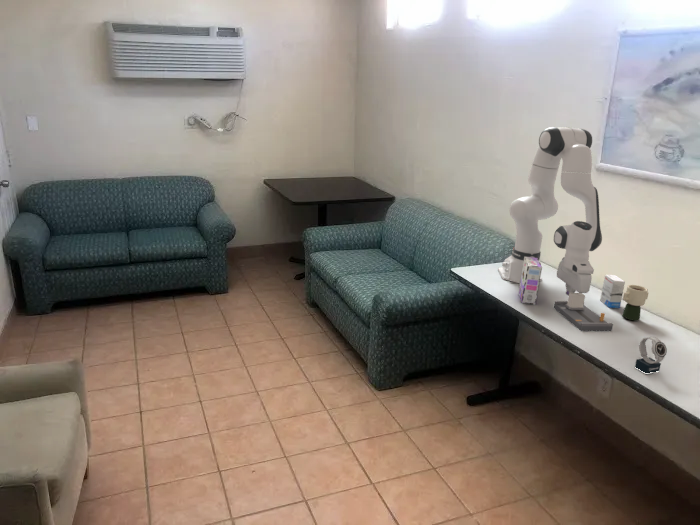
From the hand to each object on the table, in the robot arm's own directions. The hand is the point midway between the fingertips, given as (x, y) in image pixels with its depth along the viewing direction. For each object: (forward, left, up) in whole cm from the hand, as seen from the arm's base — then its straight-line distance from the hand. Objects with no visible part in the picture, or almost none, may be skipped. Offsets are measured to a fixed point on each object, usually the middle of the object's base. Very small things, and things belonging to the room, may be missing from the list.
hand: (569, 295), depth 222 cm
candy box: (-9, -13, -5) cm, 17 cm away
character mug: (+11, +21, -5) cm, 24 cm away
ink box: (-4, +21, -5) cm, 22 cm away
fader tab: (+6, 0, -3) cm, 6 cm away
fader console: (+12, 0, -5) cm, 13 cm away
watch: (+52, +1, -5) cm, 52 cm away
